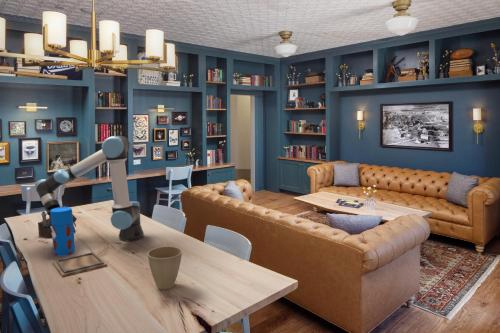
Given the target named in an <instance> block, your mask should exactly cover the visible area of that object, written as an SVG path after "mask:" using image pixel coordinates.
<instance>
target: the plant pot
mask: <svg viewBox="0 0 500 333" xmlns="http://www.w3.org/2000/svg"><path fill="white" fill-rule="evenodd" d="M147 259H148V264H149V268H150V272H151V276H152V278H153V281H154V283H155V285H156V287H157V288H158V289H159V290H170V289H172V288H173V287H174V285H175V283H176V280H177V278H178V274H179V271H180V266H181V261H182V249H181V248H179V247H176V246H167V245H166V246H158V247H155V248H152V249H150V250H148V252H147Z"/></svg>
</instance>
